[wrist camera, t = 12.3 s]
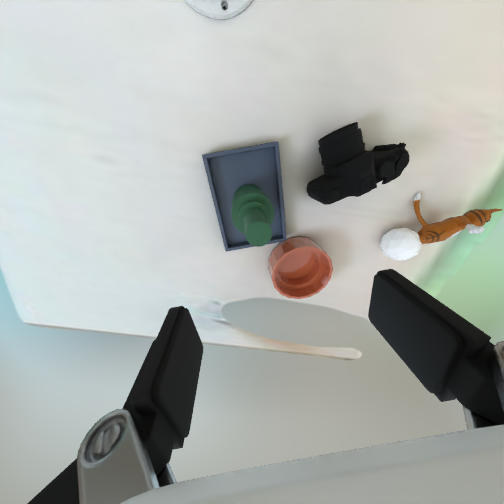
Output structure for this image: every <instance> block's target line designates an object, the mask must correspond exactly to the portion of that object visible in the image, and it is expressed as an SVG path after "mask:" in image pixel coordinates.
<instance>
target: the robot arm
mask: <svg viewBox="0 0 504 504" xmlns="http://www.w3.org/2000/svg"><path fill="white" fill-rule="evenodd" d="M185 1H186V2H187V3H188V4H189V5H190V6H191V7H192V8H193V9H195V10H196V11H197V12H199V13H200V14H202V15H204V16H207V17H209V18H213V19H228V18H231V17H233V16H236V15H238V14H239V13H241V12H242V11H243V10H245V9H246V7H247V6H248V5H249V4H250V3H251V2H252V0H185ZM223 8H226V9H227V10H223ZM368 316H369V320H370V321H371V323H372V324H373V325H374V326H375V328H376V329H377V330H378V331H379V332H380V334H381V335H382V336H383V337H384V338H385V340H386V341H387V342H388V343H389V344H390V346H391V347H392V348H393V349H394V350H395V352H396V353H397V354H398V355H399V356H400V358H401V359H402V360H403V361H404V362H405V364H406V365H407V366H408V367H409V368H410V370H411V371H412V372H413V373H414V374H415V376H416V377H417V378H418V379H419V380H420V382H421V383H422V384H423V385H424V387H425V388H426V389H427V390H428V391H429V392H431V393H434V394H435V395H436V396H437V397H438V399H439V400H440V401H441V402H443V401H449V400H455V399H456V398H457V400H458V401H459V402H460V403H461V404H462V405H463V409H464V415H465V421H466V425H467V430H463V431H458V432H452V433H447V434H441V435H435V436H429V437H423V438H417V439H411V440H405V441H399V442H393V443H388V444H382V445H377V446H371V447H365V448H359V449H354V450H348V451H342V452H337V453H331V454H326V455H320V456H314V457H309V458H303V459H298V460H293V461H286V462H281V463H276V464H270V465H265V466H259V467H254V468H249V469H243V470H237V471H232V472H226V473H222V474H217V475H212V476H207V477H202V478H197V479H192V480H187V481H183V482H178V483H177V482H176V480H175V477H174V475H173V472H172V470H171V467H170V465H169V461H170V458H171V453H172V449H178V448H183V443H184V438H185V437H187V436H188V434H189V430H190V424H191V419H192V413H193V407H194V401H195V395H196V390H197V384H198V378H199V371H200V366H201V360H202V354H203V345H202V342H201V340H200V337H199V335H198V332H197V330H196V327H195V325H194V322H193V320H192V318H191V315H190V313H189V310H188V309H187V308H184V307H183V306H179V307H174V308H170V310H169V311H168V314H167V316H166V318H165V320H164V323H163V325H162V327H161V330H160V332H159V334H158V336H157V339H156V340H154V341H153V343H152V345H151V347H150V349H149V352H148V354H147V356H146V358H145V360H144V363H143V365H142V367H141V369H140V371H139V374H138V376H137V378H136V380H135V383H134V385H133V387H132V389H131V391H130V393H129V396H128V398H127V401H126V402H125V404H124V407H123V409H117V410H114V411H112V412H110V413H108V414H106V415H105V416H103V417H102V418H101V419H100V420H99V421H98V422H97V423H95V424H94V426H93V427H92V428H91V429H90V430H89V432H88V433H87V434H86V436H85V438H84V440H83V441H82V443H81V446H80V448H79V451H78V456H77V459H76V460H75V461H74V462H72V463H71V464H70V465H69V466H68V467H67V468H66V469H65V470H64V471H63V472H61V473H60V474H59V475H58V476H57V477H56V478H55V479H54V480H53V481H52V482H51V483H49V484H48V485H47V486H46V487H45V488H44V489H43V490H42V491H41V492H40V493H38V494H37V495H36V496H35V497H34V498H33V499H32V500H31V501H30V502H29V503H28V504H504V341H501V342H498V343H497V344H496V345H493V344H492V343H490V342H489V340H490V339H491V337H490V336H488V335H487V334H485V333H484V332H483V331H481V330H479V329H478V328H477V327H475V326H474V325H472V324H471V323H470V322H468V321H467V320H465V319H464V318H462V317H461V316H459V315H458V314H456V313H455V312H454V311H452V310H451V309H449V308H448V307H446V306H445V305H444V304H442V303H441V302H439V301H438V300H437V299H435V298H434V297H432V296H431V295H429V294H428V293H427V292H425V291H424V290H422V289H421V288H419V287H418V286H416V285H415V284H414V283H412V282H411V281H409V280H408V279H406V278H405V277H404V276H402V275H401V274H399V273H398V272H396V271H395V270H393V269H388V270H382V271H378V272H377V275H375V276H374V281H373V288H372V294H371V301H370V307H369V314H368Z"/></svg>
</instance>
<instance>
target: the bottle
mask: <svg viewBox="0 0 504 504" xmlns="http://www.w3.org/2000/svg"><path fill="white" fill-rule="evenodd" d="M231 217H232V222H233V224H234V226H235V227H236V228H237V229H238V230H239V231H240V232H242V233H244V234H245V236H246V239H247V241H248V242H249V243H250V244H251V245H253V246H263V245H265V244H267V243H268V242H269V241H270V240H271V237H272V229H271V227H270V226H271V224H272V222H273V220H274V208H273V205H272V203H271V202H270V200H269V199H268V198H267V197H266V195H265V194H264V193H263V192H262V191H261V189H260V188H258V187H257V186H255V185H252V184H245V185H242V186H240V187H239V188H238V189H237V190H236V191H235V193H234V195H233V199H232V211H231Z"/></svg>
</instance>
